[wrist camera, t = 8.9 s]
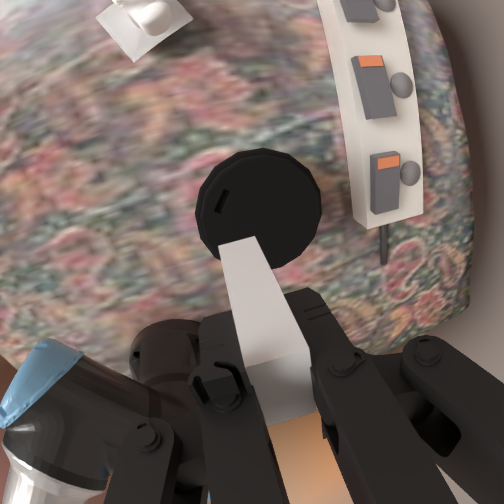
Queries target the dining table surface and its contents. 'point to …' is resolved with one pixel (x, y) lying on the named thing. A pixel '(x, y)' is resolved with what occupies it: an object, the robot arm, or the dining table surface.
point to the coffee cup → (260, 204)
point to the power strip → (382, 129)
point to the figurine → (142, 23)
